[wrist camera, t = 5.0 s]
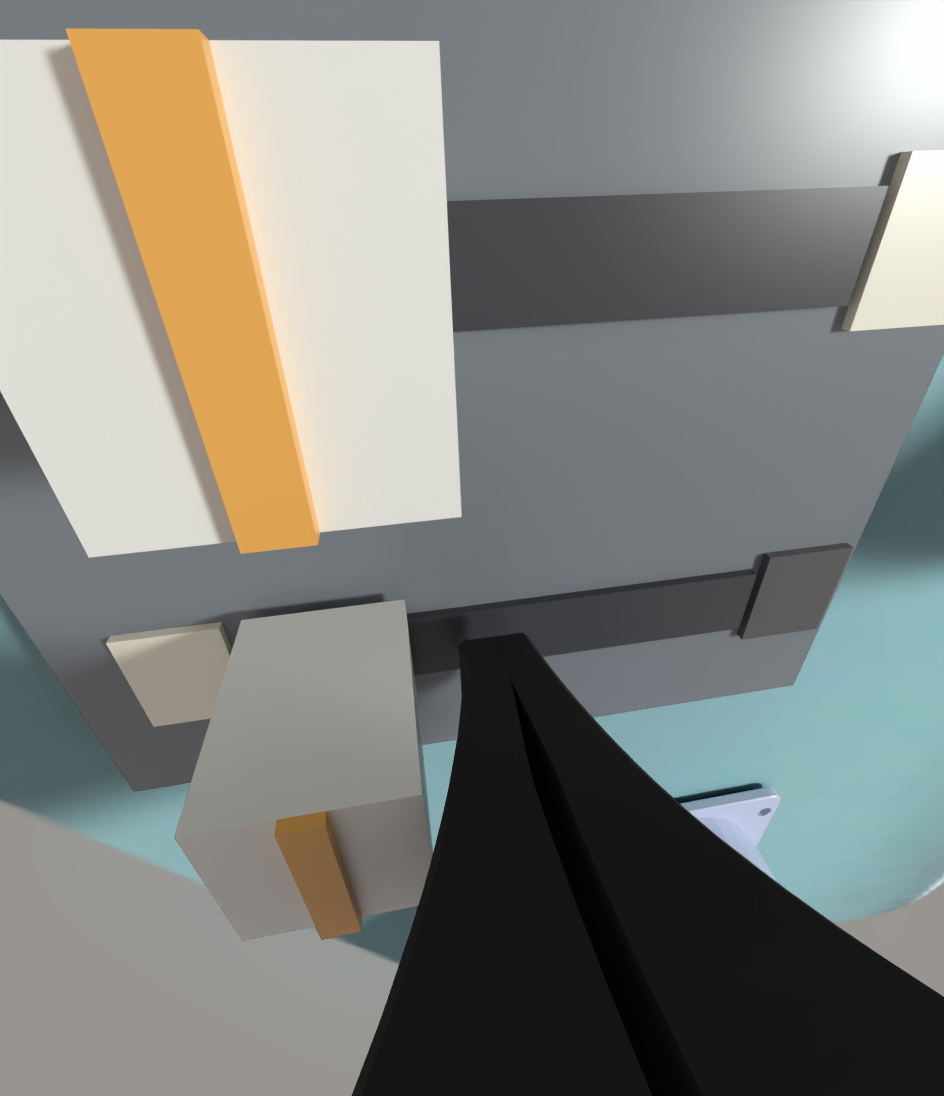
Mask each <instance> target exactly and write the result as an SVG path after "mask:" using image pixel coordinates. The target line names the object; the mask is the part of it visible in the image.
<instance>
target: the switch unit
mask: <svg viewBox="0 0 944 1096" xmlns="http://www.w3.org/2000/svg"><path fill="white" fill-rule="evenodd" d="M65 28H72V29H199V30H200V31H201V32H202V33H203V34H204V35H205V36H206V37H207V39H208V40H304V41H439V47H440V69H441V90H442V111H443V132H444V153H445V175H446V196H447V217H448V238H449V259H450V281H451V302H452V323H453V344H454V365H455V387H456V408H457V429H458V450H459V471H460V493H461V514H462V517H456V518H447V519H438V520H429V521H420V522H411V523H402V524H392V525H383V526H374V527H365V528H356V529H347V530H338V531H328V532H320V536H319V542H318V545H315V546H307V547H298V548H289V549H280V550H271V551H262V552H253V553H244V554H240V551H239V548H238V545H237V542H228V543H219V544H209V545H200V546H191V547H182V548H173V549H164V550H154V551H145V552H136V553H127V554H118V555H109V556H100V557H90V558H89V557H88V555H87V553H86V551H85V549H84V548H83V546H82V544H81V542H80V540H79V538H78V536H77V534H76V532H75V531H74V529H73V527H72V525H71V523H70V521H69V519H68V517H67V516H66V514H65V512H64V510H63V508H62V506H61V504H60V502H59V500H58V499H57V497H56V495H55V493H54V491H53V489H52V487H51V485H50V484H49V482H48V480H47V478H46V476H45V474H44V472H43V470H42V468H41V467H40V465H39V463H38V461H37V459H36V457H35V455H34V453H33V452H32V450H31V448H30V446H29V444H28V442H27V440H26V438H25V436H24V435H23V433H22V431H21V429H20V427H19V425H18V423H17V421H16V420H15V418H14V416H13V414H12V412H11V410H10V408H9V406H8V404H7V403H6V401H5V399H4V397H3V395H2V393H1V391H0V595H1V596H2V598H3V599H4V601H5V602H6V604H7V605H8V606H9V608H10V609H11V611H12V612H13V614H14V615H15V617H16V618H17V620H18V621H19V623H20V624H21V626H22V627H23V629H24V630H25V632H26V633H27V634H28V636H29V637H30V639H31V640H32V642H33V643H34V645H35V646H36V648H37V649H38V651H39V652H40V654H41V655H42V657H43V658H44V660H45V661H46V662H47V664H48V665H49V667H50V668H51V670H52V671H53V673H54V674H55V676H56V677H57V679H58V680H59V682H60V683H61V685H62V686H63V688H64V689H65V691H66V692H67V693H68V695H69V696H70V698H71V699H72V701H73V702H74V704H75V705H76V707H77V708H78V710H79V711H80V713H81V714H82V716H83V717H84V719H85V720H86V721H87V723H88V724H89V726H90V727H91V729H92V730H93V732H94V733H95V735H96V736H97V738H98V739H99V741H100V742H101V744H102V745H103V747H104V748H105V750H106V751H107V752H108V754H109V755H110V757H111V758H112V760H113V761H114V763H115V764H116V766H117V767H118V769H119V770H120V772H121V773H122V775H123V776H124V778H125V779H126V780H127V782H128V783H129V785H130V786H131V788H132V789H133V791H141V790H147V789H153V788H159V787H165V786H172V785H178V784H184V783H190V782H191V781H192V777H193V774H194V771H195V768H196V765H197V761H198V758H199V755H200V752H201V748H202V745H203V742H204V739H205V736H206V732H207V729H208V726H209V723H210V719H211V716H212V713H213V710H214V707H215V703H216V700H217V697H218V694H219V690H220V687H221V684H222V681H223V677H224V674H225V671H226V668H227V665H228V661H229V658H230V655H231V652H232V648H233V645H234V642H235V639H236V636H237V632H238V629H239V626H240V623H241V620H246V619H254V618H262V617H270V616H278V615H285V614H293V613H301V612H309V611H317V610H325V609H333V608H340V607H348V606H356V605H364V604H372V603H380V602H388V601H396V600H403V599H404V600H405V608H406V615H407V623H408V631H409V638H410V646H411V654H412V661H413V669H414V677H415V684H416V692H417V700H418V708H419V718H420V728H421V738H422V745H425V744H432V743H438V742H444V741H450V740H456V739H457V736H458V728H459V718H460V709H461V697H462V695H461V678H460V660H459V645H460V644H461V643H462V642H463V641H464V640H471V639H478V638H486V637H493V636H500V635H507V634H515V633H522V632H523V633H524V634H526V635H527V636H528V637H529V638H530V640H531V641H532V643H533V644H534V645H535V647H536V648H537V650H538V651H539V652H540V654H541V655H542V656H543V658H544V659H545V661H546V662H547V663H548V664H549V666H550V667H551V668H552V670H553V671H554V672H555V673H556V675H557V676H558V677H559V678H560V680H561V681H562V682H563V683H564V685H565V686H566V687H567V688H568V689H569V691H570V692H571V693H572V694H573V695H574V697H575V698H576V699H577V700H578V701H579V702H580V704H581V705H582V706H583V707H584V708H585V709H586V710H587V711H588V713H589V714H590V715H591V716H592V717H599V716H605V715H611V714H617V713H623V712H630V711H636V710H642V709H648V708H654V707H661V706H667V705H673V704H679V703H685V702H692V701H698V700H704V699H710V698H716V697H722V696H729V695H735V694H741V693H747V692H753V691H760V690H766V689H772V688H778V687H784V686H791V685H794V683H795V680H796V678H797V676H798V674H799V672H800V669H801V667H802V665H803V663H804V661H805V658H806V656H807V654H808V652H809V650H810V647H811V645H812V643H813V641H814V639H815V636H816V634H817V632H818V630H819V628H820V625H821V623H822V621H823V619H824V617H825V614H826V612H827V610H828V608H829V606H830V603H831V601H832V599H833V597H834V595H835V592H836V590H837V588H838V586H839V583H840V581H841V579H842V577H843V575H844V572H845V570H846V568H847V566H848V564H849V561H850V559H851V557H852V555H853V553H854V550H855V548H856V546H857V544H858V542H859V539H860V537H861V535H862V533H863V531H864V528H865V526H866V524H867V522H868V520H869V517H870V515H871V513H872V511H873V509H874V506H875V504H876V502H877V500H878V498H879V495H880V493H881V491H882V489H883V487H884V484H885V482H886V480H887V478H888V476H889V473H890V471H891V469H892V467H893V465H894V462H895V460H896V458H897V456H898V453H899V451H900V449H901V447H902V445H903V442H904V440H905V438H906V436H907V434H908V431H909V429H910V427H911V425H912V423H913V420H914V418H915V416H916V414H917V412H918V409H919V407H920V405H921V403H922V401H923V398H924V396H925V394H926V392H927V390H928V387H929V385H930V383H931V381H932V379H933V376H934V374H935V372H936V370H937V368H938V365H939V363H940V361H941V359H942V357H943V354H944V0H0V40H69V38H68V35H67V32H66V29H65Z"/></svg>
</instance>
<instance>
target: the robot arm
mask: <svg viewBox="0 0 944 1096" xmlns="http://www.w3.org/2000/svg"><path fill="white" fill-rule="evenodd" d="M459 660H460V678H461V695H462V697H461V709H460V718H459V728H458V736H457V743H456V749H455V755H454V761H453V766H452V772H451V778H450V783H449V788H448V793H447V798H446V802H445V807H444V811H443V816H442V820H441V824H440V828H439V832H438V836H437V840H436V844H435V848H434V852H433V856H432V859H431V863H430V867H429V870H428V874H427V877H426V881H425V884H424V888H423V891H422V895H421V898H420V902H419V905H418V908H417V912H416V915H415V918H414V921H413V925H412V928H411V931H410V934H409V937H408V940H407V943H406V946H405V949H404V952H403V955H402V958H401V961H400V964H399V967H398V970H397V973H396V976H395V979H394V982H393V985H392V988H391V991H390V994H389V997H388V1000H387V1003H386V1005H385V1008H384V1011H383V1014H382V1017H381V1019H380V1022H379V1025H378V1028H377V1030H376V1033H375V1036H374V1039H373V1041H372V1044H371V1046H370V1049H369V1052H368V1054H367V1057H366V1059H365V1062H364V1065H363V1067H362V1070H361V1073H360V1076H359V1078H358V1080H357V1083H356V1086H355V1088H354V1091H353V1094H352V1096H944V997H943V996H941V995H940V994H939V993H937V992H936V991H934V990H933V989H931V988H929V987H928V986H926V985H925V984H923V983H922V982H920V981H919V980H917V979H916V978H914V977H912V976H911V975H909V974H908V973H906V972H905V971H903V970H902V969H900V968H899V967H897V966H896V965H894V964H893V963H891V962H890V961H888V960H887V959H885V958H883V957H882V956H881V955H879V954H877V953H876V952H875V951H873V950H872V949H870V948H869V947H867V946H866V945H864V944H863V943H861V942H860V941H859V940H857V939H856V938H854V937H853V936H851V935H850V934H848V933H847V932H845V931H844V930H842V929H841V928H839V927H838V926H836V925H835V924H834V923H832V922H831V921H830V920H828V919H827V918H825V917H824V916H823V915H821V914H820V913H818V912H817V911H816V910H814V909H813V908H811V907H810V906H809V905H807V904H806V903H804V902H803V901H802V900H800V899H799V898H798V897H796V896H795V895H793V894H792V893H791V892H789V891H788V890H786V889H785V888H784V887H782V886H781V885H780V884H779V883H777V881H776V879H775V878H774V876H773V874H772V873H771V871H770V870H769V868H768V866H767V865H766V863H765V861H764V860H763V858H762V856H761V855H760V853H759V851H758V850H757V848H756V846H757V844H758V842H759V840H760V838H761V837H762V835H763V833H764V831H765V829H766V827H767V825H768V823H769V821H770V820H771V818H772V816H773V814H774V812H775V810H776V808H777V806H778V804H779V802H780V797H779V795H778V794H777V793H776V791H775V790H774V789H773V788H769V787H767V788H760V789H755V790H749V791H744V792H739V793H733V794H728V795H723V796H717V797H712V798H707V799H701V800H696V801H690V802H685V803H678V802H677V801H676V800H675V799H674V798H673V797H672V796H671V795H670V794H668V793H667V792H666V791H665V790H664V789H663V788H662V787H661V786H660V785H659V784H657V783H656V782H655V781H654V780H653V779H652V778H651V777H650V776H649V775H648V774H647V773H646V772H645V771H644V770H643V769H642V768H641V767H640V766H639V765H638V764H637V763H636V762H635V761H634V760H633V759H632V758H631V757H630V756H629V755H628V754H627V753H626V752H625V751H624V750H623V749H622V748H621V747H620V746H619V745H618V744H617V743H616V742H615V741H614V740H613V739H612V738H611V737H610V736H609V735H608V734H607V733H606V731H605V730H604V729H603V728H602V727H601V726H600V725H599V724H598V723H597V722H596V721H595V719H594V718H593V717H592V716H591V715H590V714H589V713H588V711H587V710H586V709H585V708H584V707H583V706H582V705H581V704H580V702H579V701H578V700H577V699H576V698H575V697H574V695H573V694H572V693H571V692H570V691H569V689H568V688H567V687H566V686H565V685H564V683H563V682H562V681H561V680H560V678H559V677H558V676H557V675H556V673H555V672H554V671H553V670H552V668H551V667H550V666H549V664H548V663H547V662H546V661H545V659H544V658H543V656H542V655H541V654H540V652H539V651H538V650H537V648H536V647H535V645H534V644H533V643H532V641H531V640H530V638H529V637H528V636H527V635H526V634H524V633H523V632H522V633H515V634H507V635H500V636H493V637H486V638H478V639H471V640H464V641H463V642H462V643H461V644H460V645H459Z"/></svg>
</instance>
